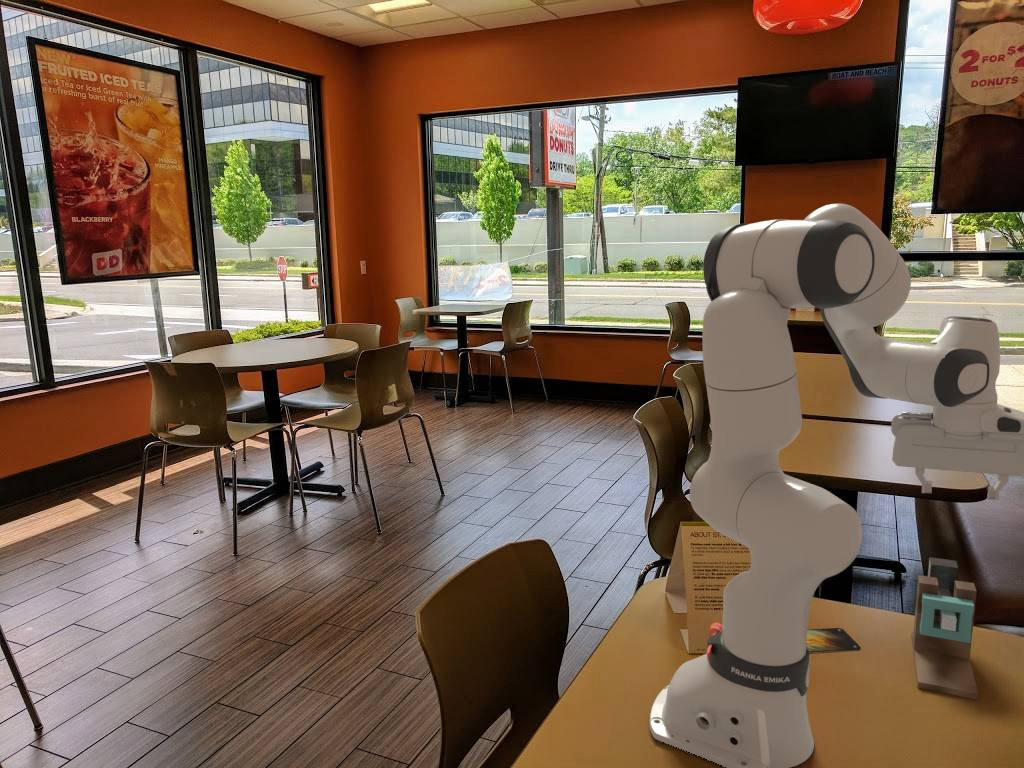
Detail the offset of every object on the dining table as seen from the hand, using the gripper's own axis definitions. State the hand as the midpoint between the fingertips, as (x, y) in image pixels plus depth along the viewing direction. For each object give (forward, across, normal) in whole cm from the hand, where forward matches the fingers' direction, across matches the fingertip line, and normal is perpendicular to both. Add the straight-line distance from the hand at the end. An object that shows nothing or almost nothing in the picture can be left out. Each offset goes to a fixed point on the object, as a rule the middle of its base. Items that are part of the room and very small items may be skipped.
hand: (959, 495), depth 122 cm
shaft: (+19, -1, -6) cm, 20 cm away
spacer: (+21, -1, -9) cm, 23 cm away
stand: (+26, -1, -10) cm, 28 cm away
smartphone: (+26, -21, -11) cm, 36 cm away
